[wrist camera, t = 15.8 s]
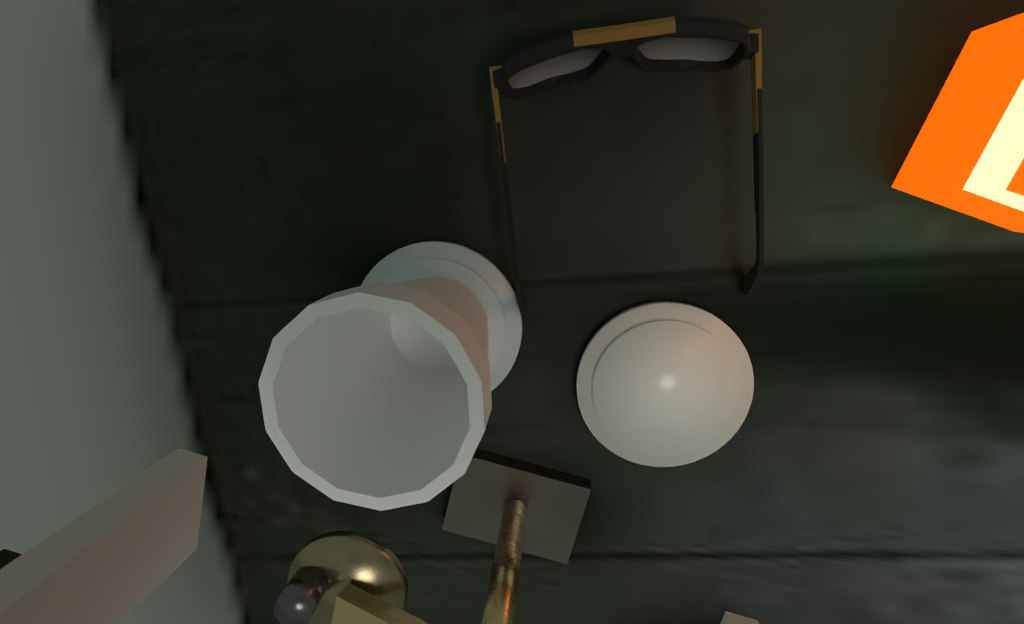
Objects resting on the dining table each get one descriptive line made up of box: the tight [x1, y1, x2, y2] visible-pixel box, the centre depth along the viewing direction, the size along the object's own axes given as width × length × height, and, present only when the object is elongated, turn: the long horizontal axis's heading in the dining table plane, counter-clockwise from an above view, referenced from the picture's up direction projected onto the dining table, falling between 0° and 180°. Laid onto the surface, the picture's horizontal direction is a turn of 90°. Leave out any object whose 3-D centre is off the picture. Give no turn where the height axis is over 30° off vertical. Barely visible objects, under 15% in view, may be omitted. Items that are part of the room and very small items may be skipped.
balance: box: [274, 449, 591, 624], centre depth 31 cm, size 22×6×17 cm, turn 76°
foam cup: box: [258, 276, 492, 511], centre depth 29 cm, size 10×9×13 cm
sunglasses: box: [489, 16, 764, 315], centre depth 31 cm, size 14×15×5 cm
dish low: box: [361, 241, 523, 391], centre depth 36 cm, size 11×11×1 cm
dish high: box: [576, 301, 754, 467], centre depth 35 cm, size 11×11×1 cm
